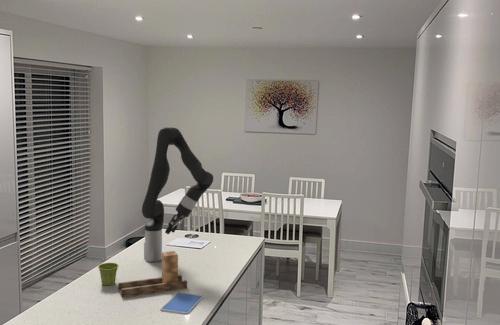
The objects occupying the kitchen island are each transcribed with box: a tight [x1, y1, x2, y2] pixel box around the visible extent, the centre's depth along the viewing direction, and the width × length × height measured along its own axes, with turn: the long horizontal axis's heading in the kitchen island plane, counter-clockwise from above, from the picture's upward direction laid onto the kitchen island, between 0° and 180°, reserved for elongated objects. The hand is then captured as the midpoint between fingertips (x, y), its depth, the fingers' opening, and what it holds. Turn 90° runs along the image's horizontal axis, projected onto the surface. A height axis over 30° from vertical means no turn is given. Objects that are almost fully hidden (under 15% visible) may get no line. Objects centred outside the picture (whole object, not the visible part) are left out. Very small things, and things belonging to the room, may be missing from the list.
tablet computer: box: [160, 292, 204, 315], centre depth 206 cm, size 19×13×1 cm, turn 166°
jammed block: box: [161, 250, 179, 283], centre depth 224 cm, size 6×6×15 cm
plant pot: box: [97, 262, 119, 286], centre depth 227 cm, size 9×9×9 cm
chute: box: [117, 274, 188, 299], centre depth 221 cm, size 30×10×4 cm, turn 115°
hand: (169, 232), depth 239 cm, fingers open, 8 cm apart
